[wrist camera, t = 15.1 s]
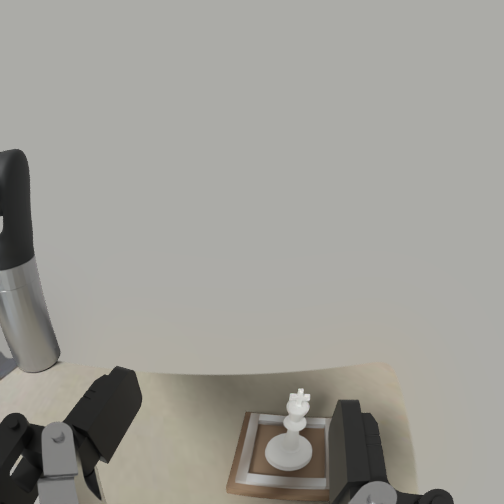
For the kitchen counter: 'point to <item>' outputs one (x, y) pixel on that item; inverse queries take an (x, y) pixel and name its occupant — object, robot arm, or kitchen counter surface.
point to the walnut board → (270, 478)
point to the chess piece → (291, 437)
